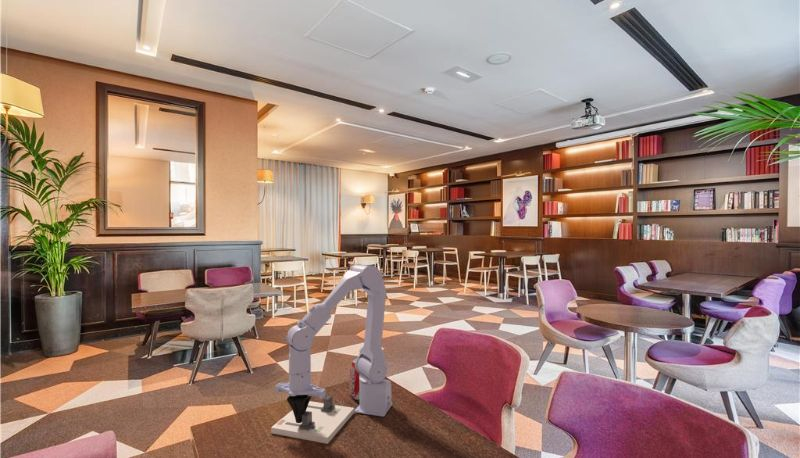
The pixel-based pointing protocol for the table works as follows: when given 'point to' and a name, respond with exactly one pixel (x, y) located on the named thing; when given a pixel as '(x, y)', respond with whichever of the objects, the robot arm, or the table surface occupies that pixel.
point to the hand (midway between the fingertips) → (300, 421)
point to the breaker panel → (324, 423)
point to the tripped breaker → (307, 421)
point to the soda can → (354, 380)
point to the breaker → (328, 404)
